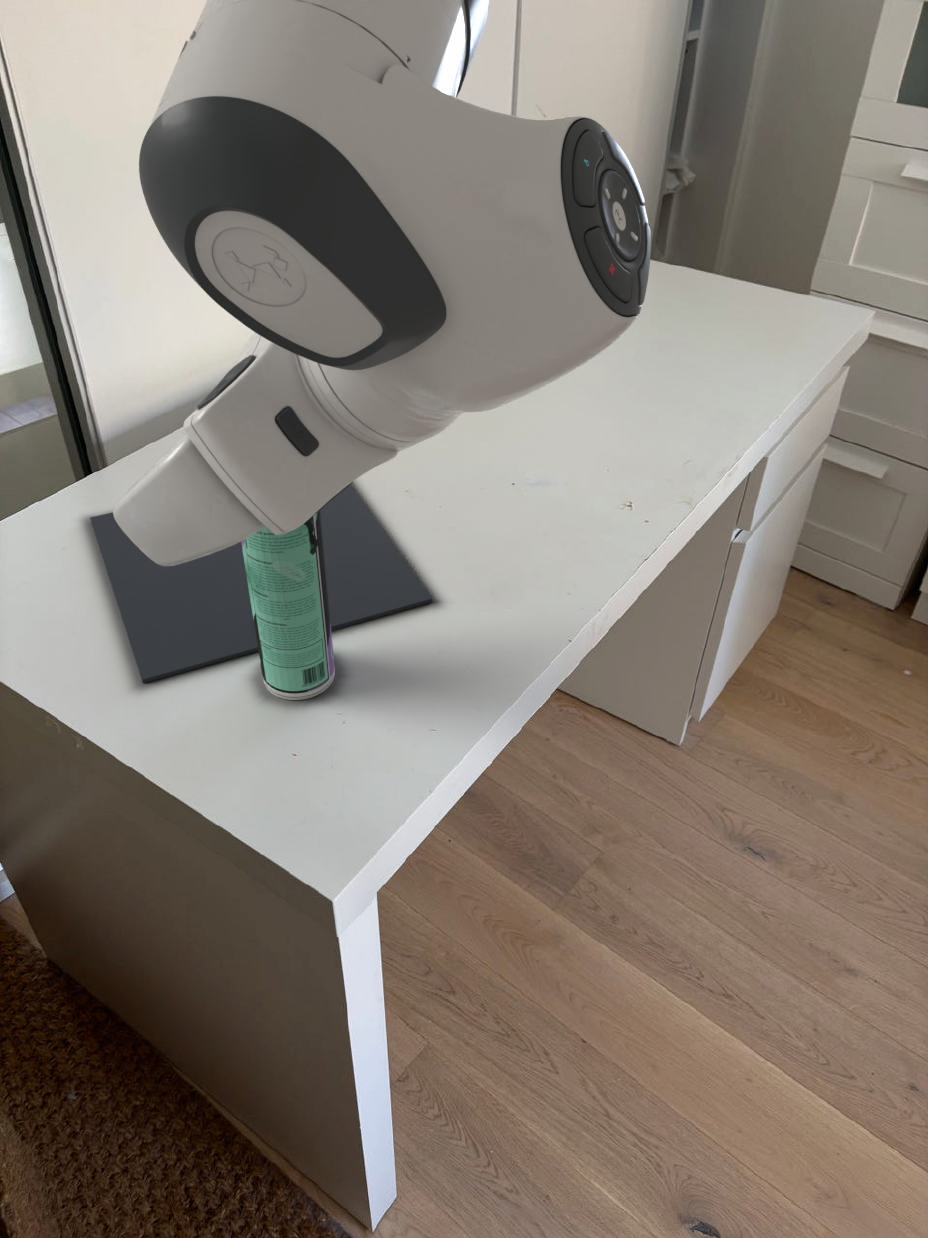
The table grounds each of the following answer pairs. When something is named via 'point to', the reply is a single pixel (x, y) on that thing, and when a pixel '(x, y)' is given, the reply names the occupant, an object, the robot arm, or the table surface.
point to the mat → (246, 590)
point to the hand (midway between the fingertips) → (204, 453)
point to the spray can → (291, 609)
